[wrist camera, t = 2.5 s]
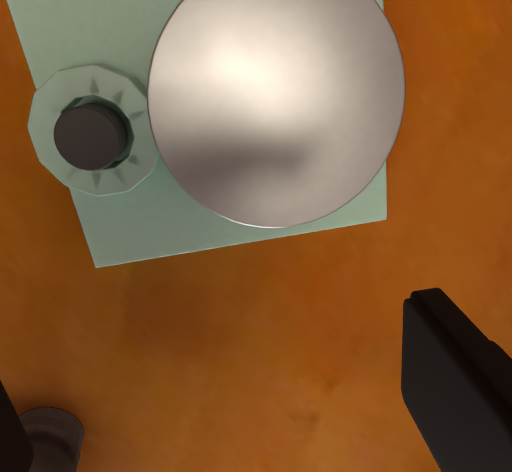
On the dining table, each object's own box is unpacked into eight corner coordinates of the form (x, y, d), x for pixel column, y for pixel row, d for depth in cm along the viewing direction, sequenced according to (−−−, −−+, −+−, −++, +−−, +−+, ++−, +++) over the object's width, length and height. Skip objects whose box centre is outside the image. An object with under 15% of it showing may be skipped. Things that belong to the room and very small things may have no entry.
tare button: (77, 166, 19) (64, 176, 17) (58, 107, 18) (43, 111, 16) (134, 157, 19) (127, 166, 17) (119, 98, 18) (109, 101, 16)
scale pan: (179, 239, 20) (178, 246, 20) (118, -20, 16) (113, -24, 15) (399, 202, 21) (406, 208, 20) (398, -61, 16) (407, -67, 16)
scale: (97, 258, 23) (81, 284, 21) (3, -30, 18) (-35, -46, 15) (378, 211, 24) (399, 230, 21) (370, -83, 18) (397, -108, 16)
